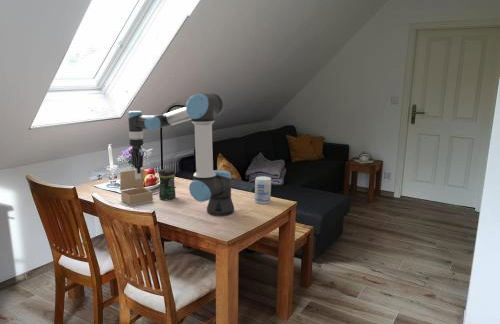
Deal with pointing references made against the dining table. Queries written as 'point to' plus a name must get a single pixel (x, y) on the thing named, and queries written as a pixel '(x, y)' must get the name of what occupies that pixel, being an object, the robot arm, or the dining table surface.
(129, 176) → the lid
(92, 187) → the dining table surface
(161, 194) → the coffee jar
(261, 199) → the supplement tub
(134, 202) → the mailer box
